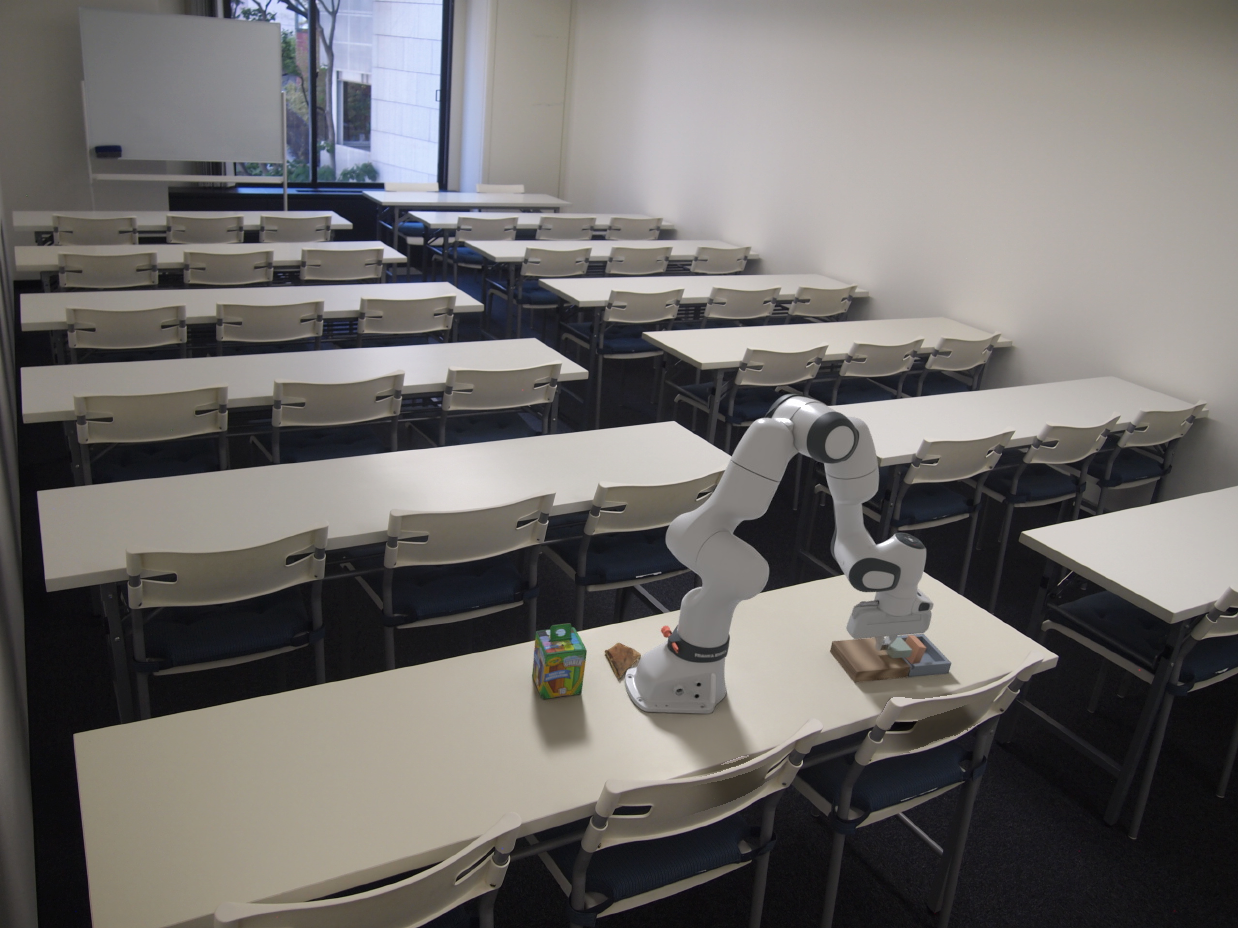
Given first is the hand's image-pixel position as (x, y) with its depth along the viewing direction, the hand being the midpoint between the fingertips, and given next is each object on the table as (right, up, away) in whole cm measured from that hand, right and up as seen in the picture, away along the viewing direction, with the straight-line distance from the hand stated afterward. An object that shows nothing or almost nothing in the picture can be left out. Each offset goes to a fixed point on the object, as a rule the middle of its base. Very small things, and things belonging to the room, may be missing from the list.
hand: (881, 648), depth 217 cm
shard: (-61, -2, -8) cm, 61 cm away
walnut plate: (-3, -4, +1) cm, 5 cm away
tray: (+9, -4, +4) cm, 11 cm away
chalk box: (-76, -4, -18) cm, 78 cm away
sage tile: (+4, -1, +2) cm, 4 cm away
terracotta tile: (+7, -1, +3) cm, 8 cm away
